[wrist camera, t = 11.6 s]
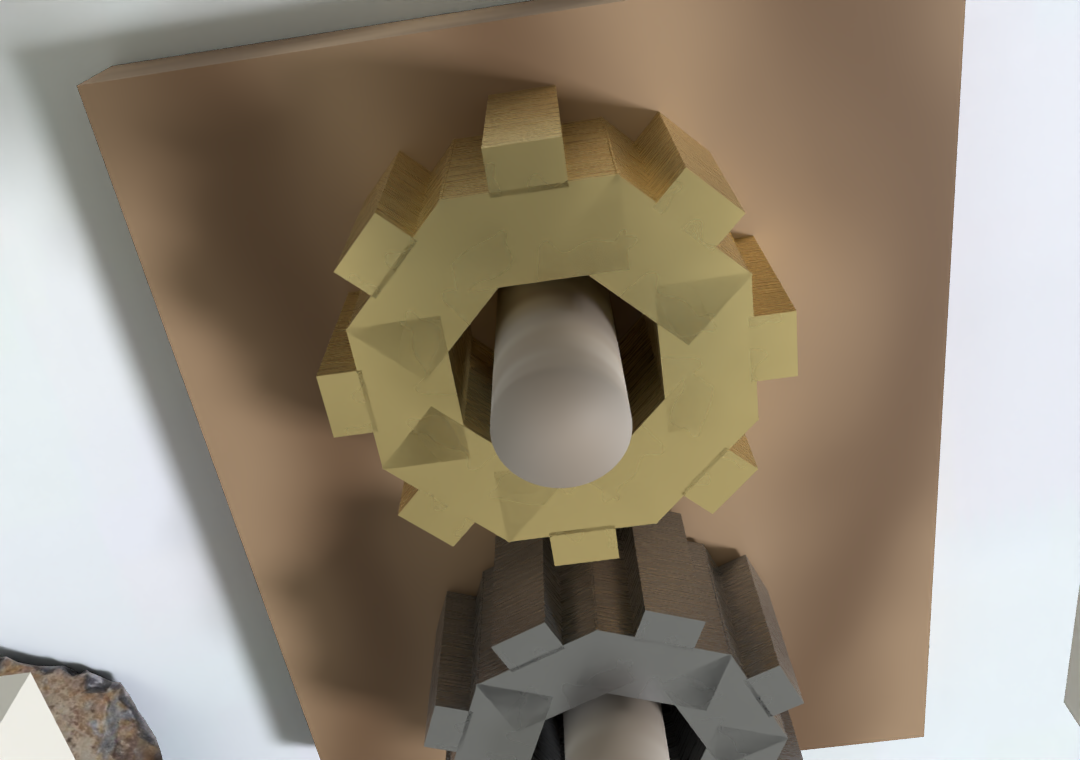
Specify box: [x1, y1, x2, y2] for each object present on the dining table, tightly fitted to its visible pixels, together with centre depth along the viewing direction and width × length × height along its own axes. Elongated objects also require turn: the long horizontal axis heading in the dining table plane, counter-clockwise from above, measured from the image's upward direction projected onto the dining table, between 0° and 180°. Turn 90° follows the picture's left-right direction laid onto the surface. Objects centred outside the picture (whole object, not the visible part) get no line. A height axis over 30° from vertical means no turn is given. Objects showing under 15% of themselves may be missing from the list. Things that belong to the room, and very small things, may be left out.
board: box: [77, 0, 966, 760], centre depth 23 cm, size 18×22×8 cm
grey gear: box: [424, 511, 804, 760], centre depth 26 cm, size 9×9×4 cm
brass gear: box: [316, 85, 798, 566], centre depth 21 cm, size 9×9×4 cm
